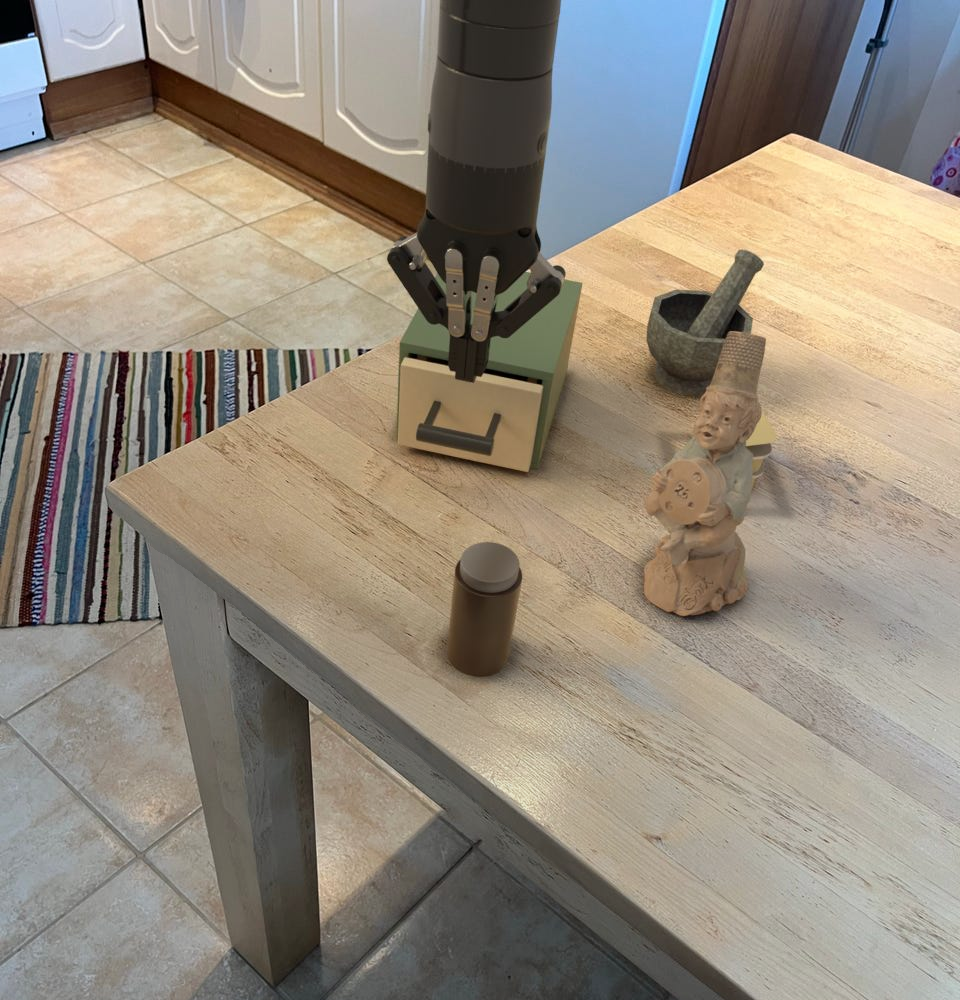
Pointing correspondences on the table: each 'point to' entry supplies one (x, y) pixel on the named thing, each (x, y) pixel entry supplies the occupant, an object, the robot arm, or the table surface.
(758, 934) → the table surface
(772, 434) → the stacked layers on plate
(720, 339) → the mortar and pestle
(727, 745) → the table surface
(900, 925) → the table surface
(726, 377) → the figurine
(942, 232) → the table surface
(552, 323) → the cabinet
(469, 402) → the drawer
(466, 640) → the pepper mill
